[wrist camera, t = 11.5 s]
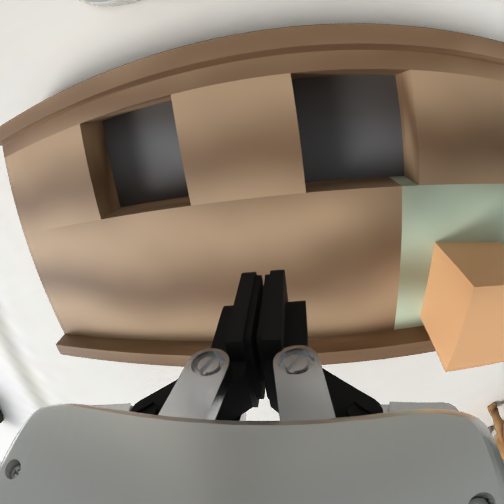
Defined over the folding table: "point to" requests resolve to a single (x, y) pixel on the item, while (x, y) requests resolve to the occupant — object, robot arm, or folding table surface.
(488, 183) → the box
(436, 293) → the block
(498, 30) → the folding table surface
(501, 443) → the lion figurine
